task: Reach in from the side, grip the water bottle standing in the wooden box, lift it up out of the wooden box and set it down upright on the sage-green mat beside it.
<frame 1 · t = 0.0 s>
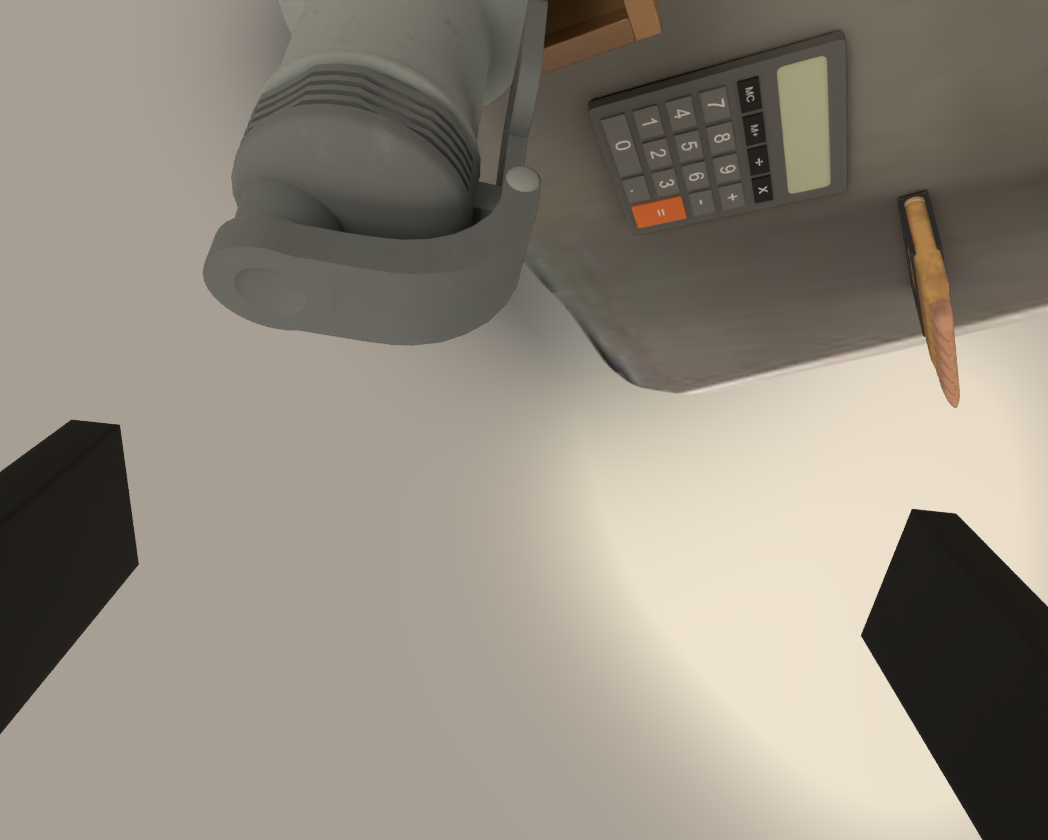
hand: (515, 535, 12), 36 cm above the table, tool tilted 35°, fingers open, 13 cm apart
ammunition clip: (918, 240, 54), on the table
calculator: (721, 142, 48), on the table
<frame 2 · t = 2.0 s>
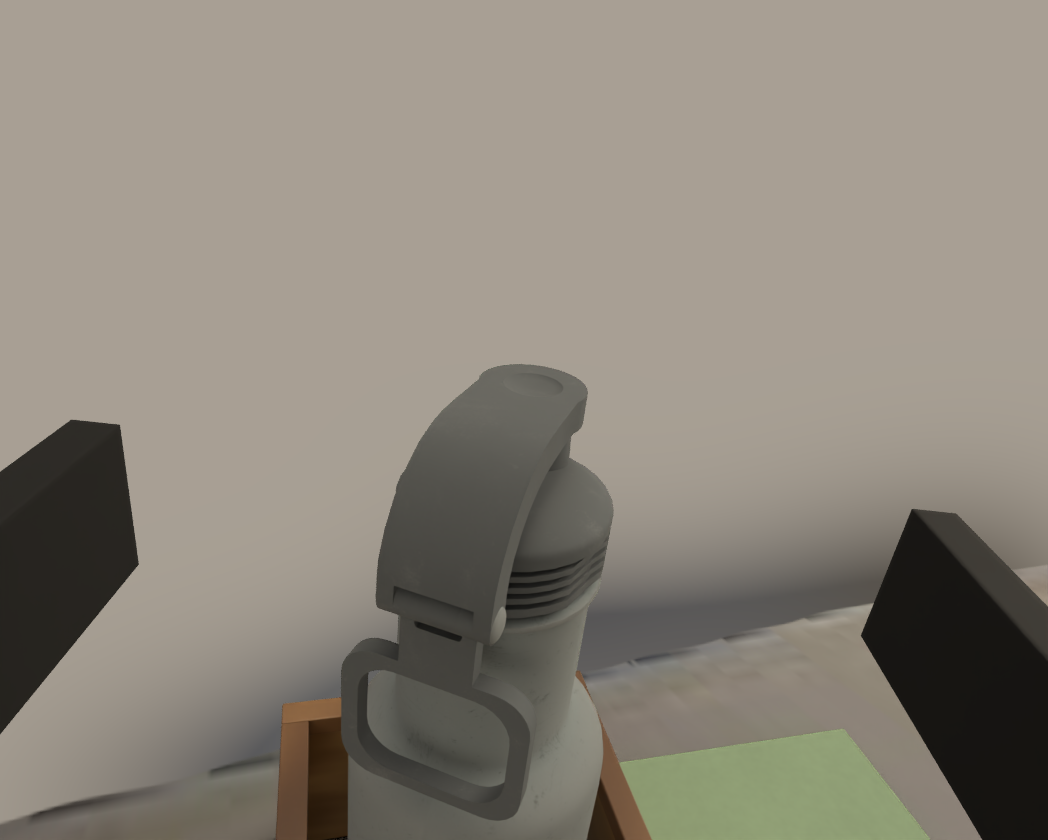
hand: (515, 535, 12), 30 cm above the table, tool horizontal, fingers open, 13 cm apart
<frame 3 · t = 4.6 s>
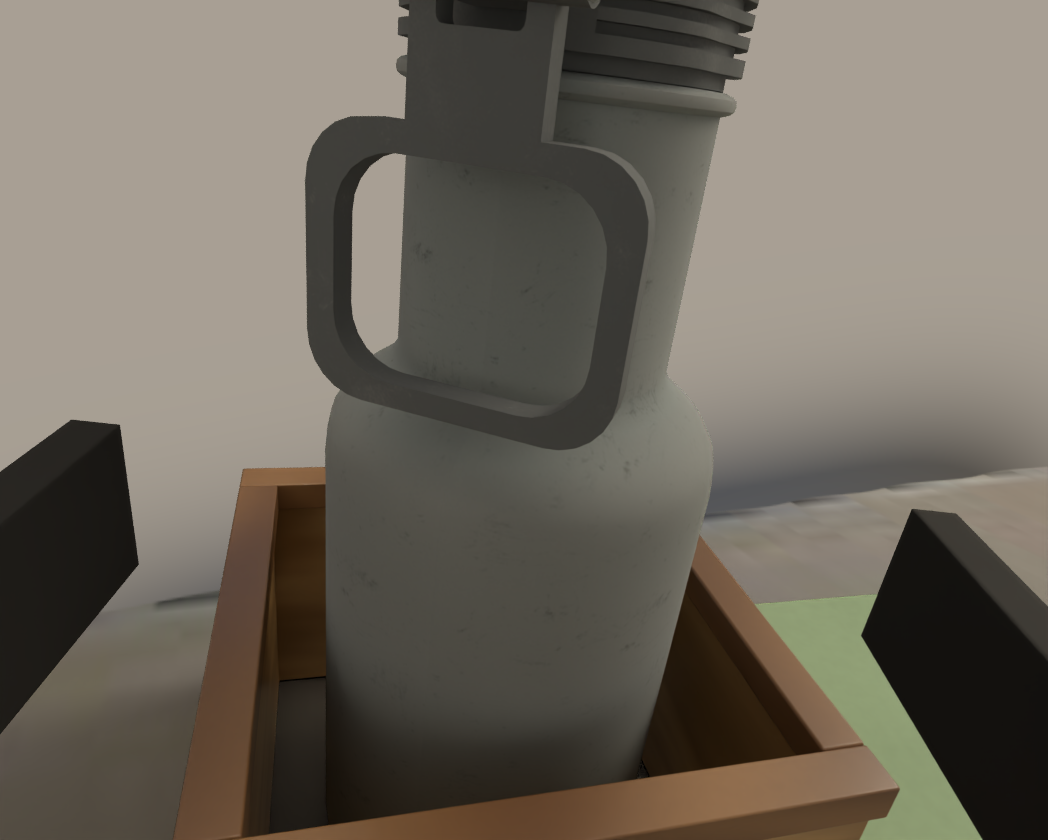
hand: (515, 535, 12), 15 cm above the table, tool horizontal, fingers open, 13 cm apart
wooden box: (473, 806, 24), on the table
water bottle: (472, 810, 24), resting in wooden box
desk mat: (921, 739, 29), on the table
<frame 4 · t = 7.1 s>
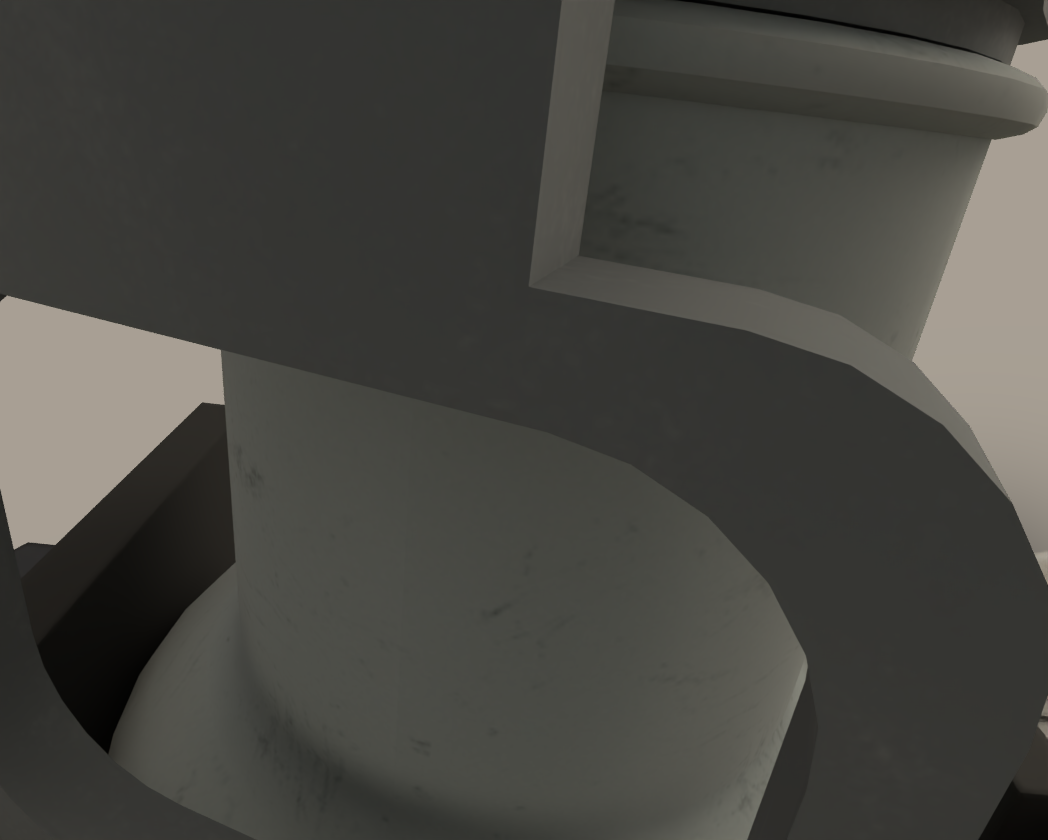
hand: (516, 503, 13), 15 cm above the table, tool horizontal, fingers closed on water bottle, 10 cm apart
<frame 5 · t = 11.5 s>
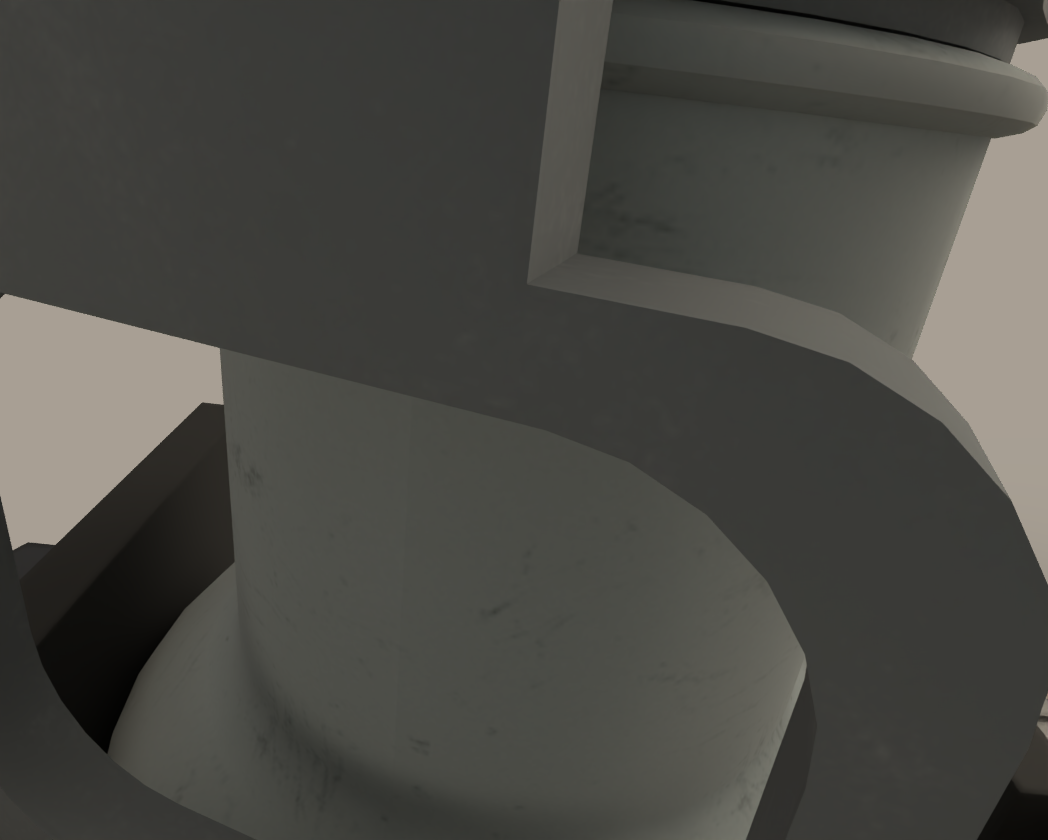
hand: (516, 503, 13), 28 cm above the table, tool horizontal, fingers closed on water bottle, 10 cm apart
when the fingers open (15 cm above the table, at t = 16.0 s): water bottle stays where it is, resting on desk mat.
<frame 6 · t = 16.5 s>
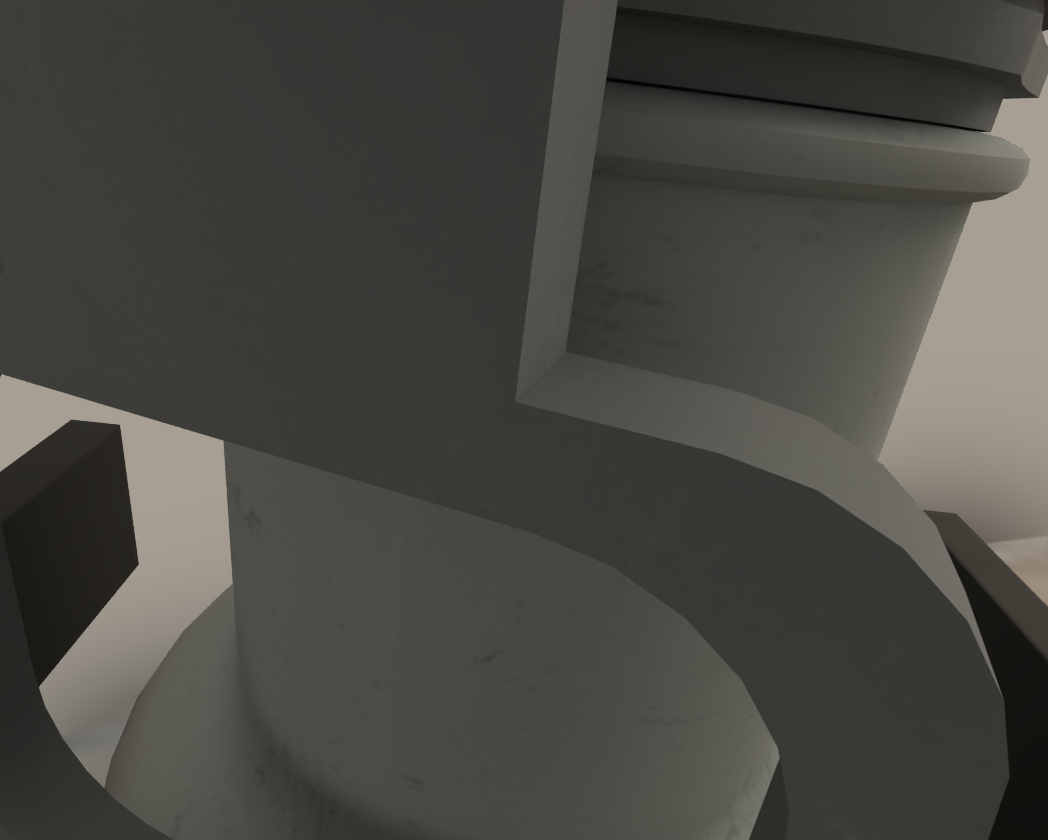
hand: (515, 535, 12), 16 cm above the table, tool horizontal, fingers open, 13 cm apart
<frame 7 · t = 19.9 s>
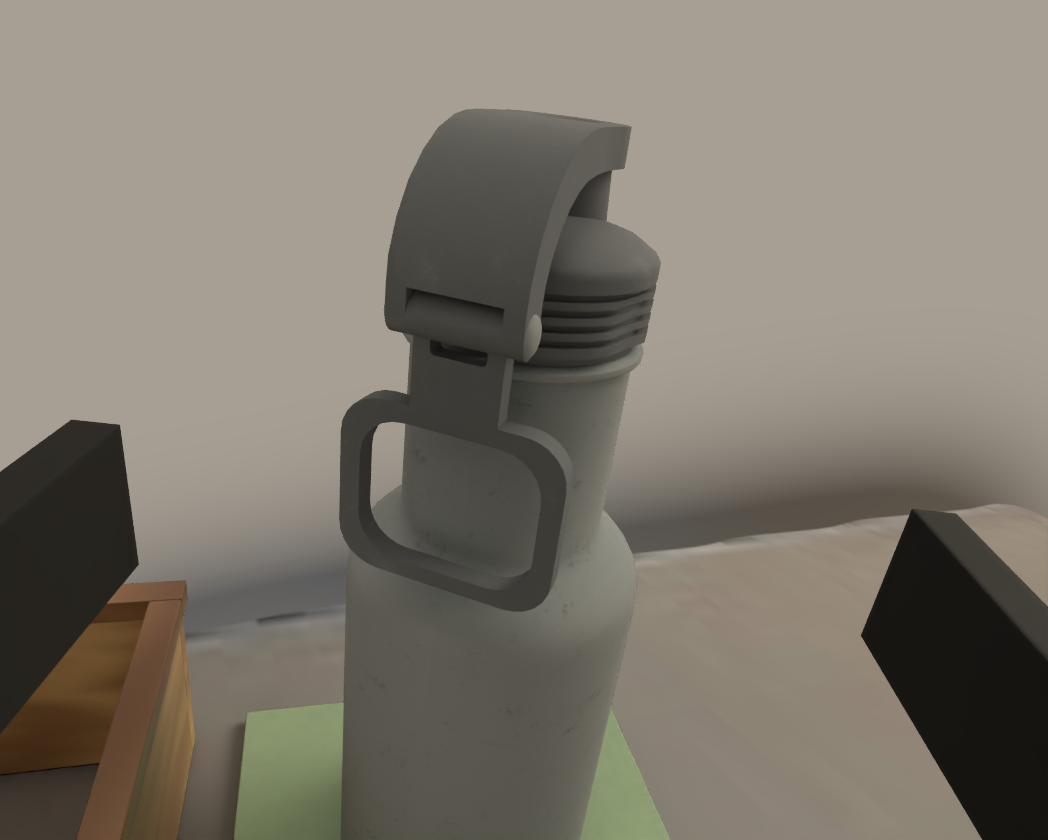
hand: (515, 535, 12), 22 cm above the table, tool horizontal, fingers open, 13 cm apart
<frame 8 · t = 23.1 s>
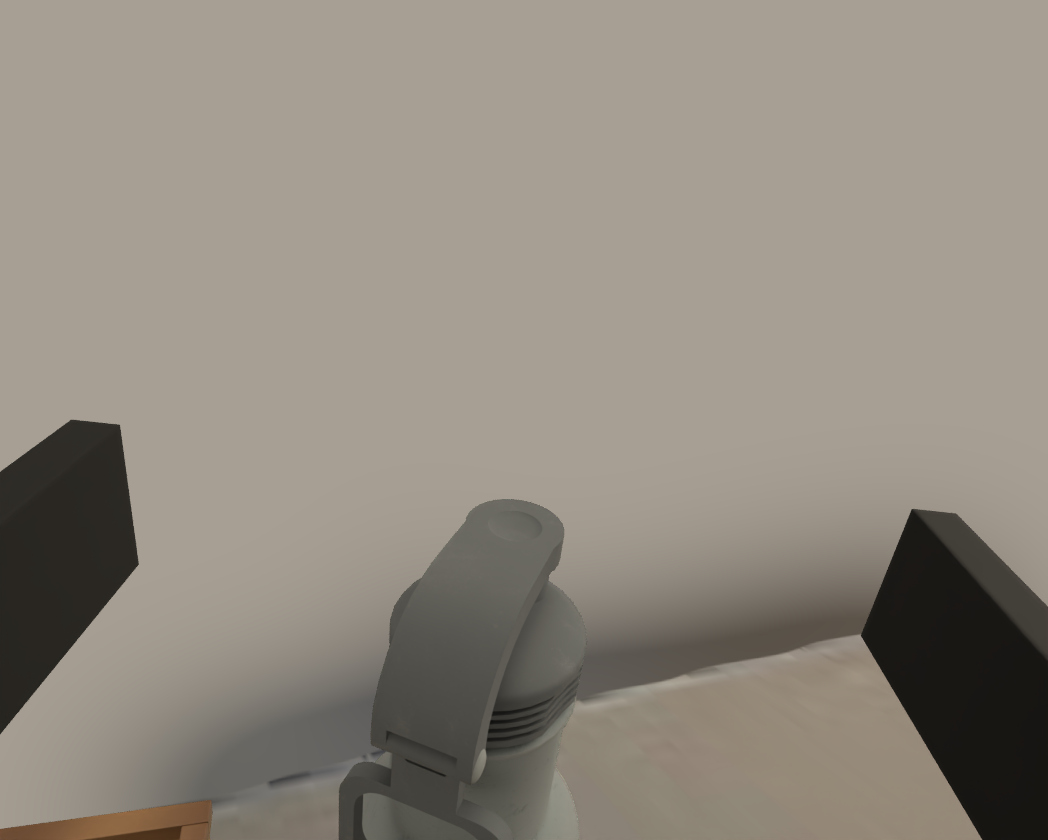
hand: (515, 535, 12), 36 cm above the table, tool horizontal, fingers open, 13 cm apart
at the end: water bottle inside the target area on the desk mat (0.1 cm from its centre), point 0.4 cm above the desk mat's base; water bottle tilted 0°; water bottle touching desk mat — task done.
